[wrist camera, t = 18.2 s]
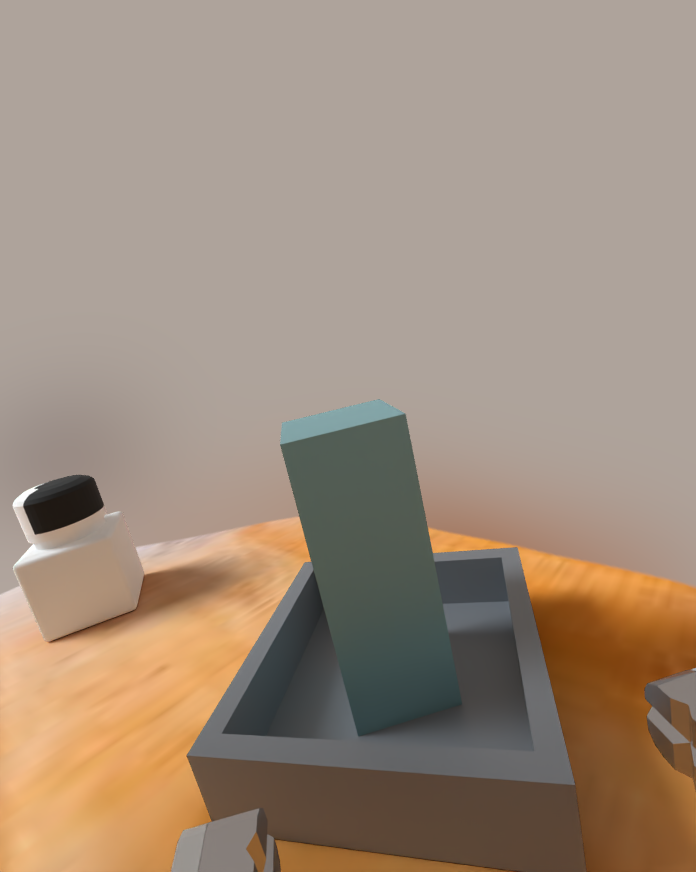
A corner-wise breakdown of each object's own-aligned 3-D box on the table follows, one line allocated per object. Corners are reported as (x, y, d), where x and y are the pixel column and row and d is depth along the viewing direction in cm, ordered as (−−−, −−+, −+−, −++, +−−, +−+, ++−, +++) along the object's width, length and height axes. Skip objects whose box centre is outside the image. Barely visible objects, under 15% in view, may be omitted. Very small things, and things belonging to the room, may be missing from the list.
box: (215, 831, 18) (186, 755, 17) (318, 611, 31) (304, 562, 30) (587, 880, 14) (575, 784, 13) (525, 604, 27) (517, 547, 26)
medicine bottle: (145, 573, 44) (105, 462, 41) (137, 610, 37) (88, 480, 34) (67, 601, 41) (19, 485, 39) (44, 645, 35) (-17, 509, 32)
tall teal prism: (358, 736, 20) (280, 444, 16) (344, 659, 24) (282, 422, 21) (462, 704, 20) (405, 413, 17) (428, 634, 25) (379, 399, 22)
